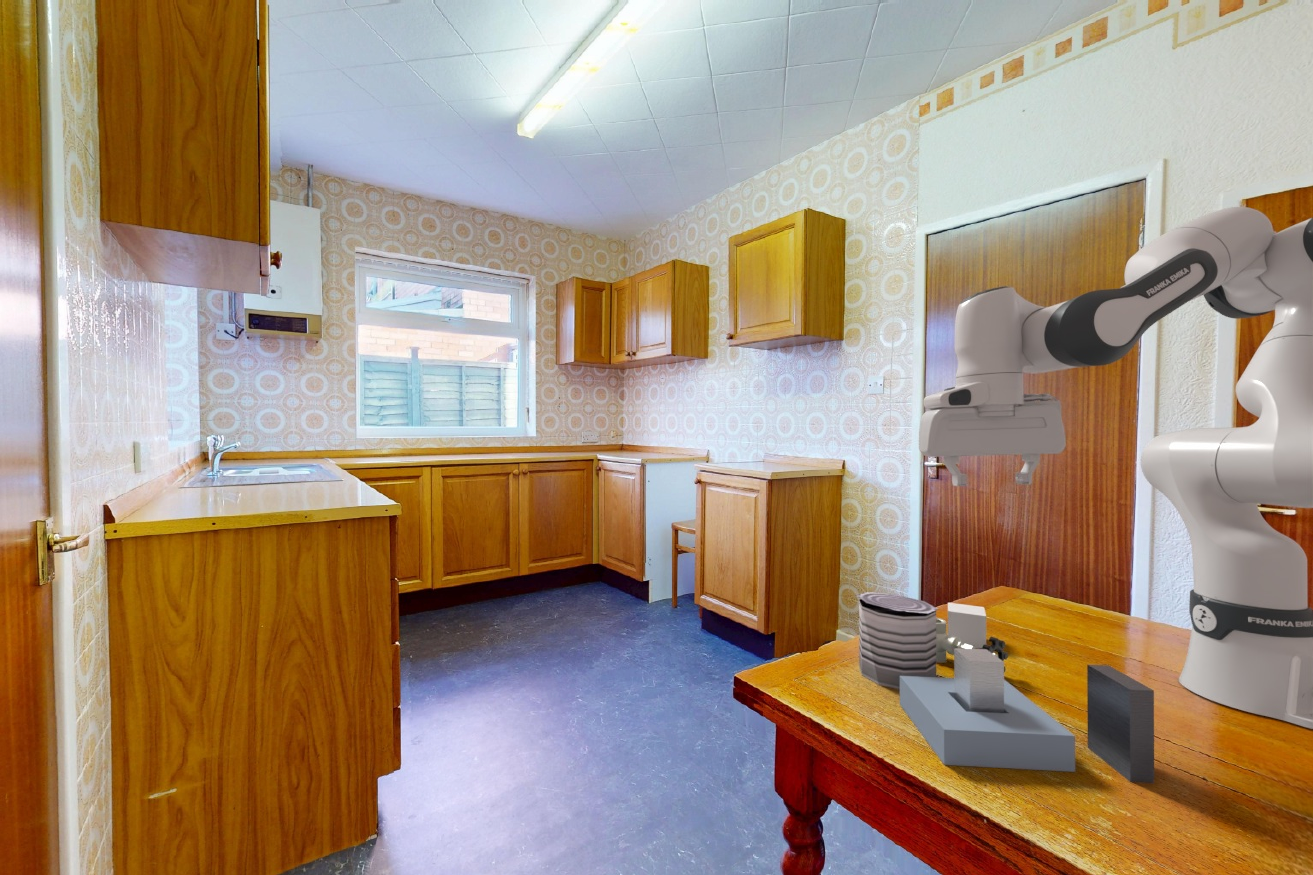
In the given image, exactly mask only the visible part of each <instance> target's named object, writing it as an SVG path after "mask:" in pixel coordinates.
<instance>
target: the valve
mask: <svg viewBox="0 0 1313 875" xmlns="http://www.w3.org/2000/svg"><path fill="white" fill-rule="evenodd" d="M988 642H990V643H991V644H990V645H989V644H987V643H986V644H984V645H983V647H982V648H979V649H987V650H988V651H990V652H991V653H992V654H994V655H995V656H996V657H998V658H999V659H1001V660H1002V661H1003V662H1005V661H1007V660H1008V657H1009V653H1008V652H1006V651H1004V648H1005V647H1006V642H1005V641H1004V640H1001V639H999V638H998V637H994V636H990V637H989V638H988ZM954 648H961V649H977V648H975V647H974V646H971V645H968V644H964V645H963V643H961V640H960V638H958V637H955V636H950V637H948V632H947V621H946V620H945V619H943V618H940V617H936V664H937V663H947V654H949V655H952V656H954ZM995 652H996V653H997V654H996V653H995ZM1005 672H1006V666H1005V665H1004V673H1005Z"/></svg>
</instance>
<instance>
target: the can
mask: <svg viewBox="0 0 1313 875" xmlns="http://www.w3.org/2000/svg"><path fill="white" fill-rule="evenodd" d="M856 596H857V598H859V600H858V603H859V604H858V639H859V641H858V643H859V644H858V654H859V655H858V659H859V660H858V661H859V662H858V664H859V665H858V667H859V670H860V674H861V676H863V678H866V679H867V680H869V681H871V682H872V683H875V684H876V685H878V686H882V687H884V688H885V687H886V688H891V689H895V690H899V691H900V676H917V677H937V663H936V618H937V610H939V608H938V607H936V606H933V605H932V604H930V603H928V602H927V601H925V600H921V599H916V598H911V597H908V596H904V595H899V594H894V593H883V592H872V591H871V592H870V591H867V592H864V593H860V594H856Z"/></svg>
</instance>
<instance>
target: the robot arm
mask: <svg viewBox="0 0 1313 875" xmlns="http://www.w3.org/2000/svg"><path fill="white" fill-rule="evenodd" d="M1124 283H1125V285H1123V286H1121V287H1119V288H1109V289H1108V288H1107V289H1099V290H1097V289H1096V290H1092V291H1089V292H1086V293H1083V294H1081V295H1078V296H1075V297H1073V298H1071V299H1068V300H1066V301H1063V302H1062V301H1061V302H1060V303H1057V304H1053V305H1051V306H1047V307H1046V306H1041V305H1038V304H1035V303H1033V302H1031V301H1029V300H1027V299H1026V298H1024V297H1022V296H1021V295H1020V294H1019V293H1018V292H1017V291H1016V289H1015V288H1014V287H1013V286H1006V285H1004V286H998V287H993V288H990V289H985V290H983V291H979V292H976V293H974V294H971V295H970V296H968V297H966V298H964V299H963V300H962V301H961V302H959V304H958V306H957V309H956V313H955V321H954V353H955V355H956V359H957V369H956V373H955V385H954V386H953V387H948V388H945V389H944V390H942V391H938V392H935V393H932V394H930V395H927V396H925V397H924V399H923V406H924V408H925V409H926V411H925V412H924V413H923V414H922V416H921V418H920V422H919V429H918V449H919V452H920V453H921V454H922V455H923V456H925V457H930V458H931V457H932V458H935V457H937V458H941V457H943V464H944V466H945V468H946V469H947V470H948V472H949V473H950V474H951V482H952V486H953V487H954V486H955V487H966V486H968V481H967V480H968V474H967V473H966V474H965V473H962V472H961V470H960V469H959V467H958V466H957V465H958V464H960V457H975V456H976V457H977V456H979V457H980V456H981V457H983V456H1008V455H1009V456H1011V455H1012V456H1014V455H1021V461H1022V462H1024V464H1023V466H1022V469H1021V470H1020V472H1014V473H1015V474H1014V475H1015V476H1014V477H1015V480H1014V481H1015V484H1016V485H1023V486H1025V485H1026V486H1027V485H1029V486H1030V485H1032V483H1033V473H1034V472H1035V470H1036V468H1037V467H1038V466H1039V464H1040V462H1041V458H1040V457H1041V456H1040V455H1048V454H1049V455H1050V454H1051V455H1053V454H1062V452H1063V451H1064V450H1065V448H1066V446H1067V445H1066V444H1067V442H1066V433H1065V426H1064V422H1063V419H1062V403H1061V401H1060V400H1059V399H1058V398H1057V397H1055V396H1052V395H1051V393H1037V394H1036V393H1024V373H1026V374H1042V373H1050V372H1057V371H1063V370H1069V369H1075V368H1084V367H1085V368H1086V367H1100V366H1106V365H1107V366H1108V365H1111V364H1113V363H1115V362H1117V361H1119V360H1121V359H1122V358H1123V357H1125V356H1126V355H1127V354H1128V353H1129V352H1131V350H1132V349H1133V348H1134V347H1135V345H1136V344H1137V342H1138V341H1139V340H1140V339H1141V338H1142V336H1143V335H1144V334H1145V333H1146V331H1147V330H1149V328H1151V327H1152V326H1154V325H1155V324H1156V323H1157V322H1159V321H1160V320H1162V319H1164V318H1165V317H1167V316H1168V315H1169V314H1171V313H1173V312H1174V311H1176V310H1178V309H1179V308H1181V307H1182V306H1184V305H1185V304H1187V303H1188V302H1191V301H1193V300H1195V299H1197V298H1199V297H1201V296H1203V297H1204V299H1205V301H1206V303H1207V304H1208V305H1209V307H1210V308H1211V309H1212V310H1213V311H1215V312H1217V313H1219V314H1220V315H1222V316H1224V317H1226V318H1230V319H1236V320H1237V319H1238V320H1239V319H1249V318H1255V317H1259V316H1264V315H1267V314H1269V313H1272V312H1273V311H1274V315H1275V316H1274V322H1273V325H1272V328H1271V330H1269V332H1268V333H1266V334H1267V335H1266V336H1265V337H1264V339H1263V340H1262V342H1261V343H1260V345H1259V346H1258V348H1257V350H1256V351H1255V353H1254V354H1253V356H1252V358H1251V360H1250V361H1249V363H1248V364H1247V366H1246V368H1245V370H1244V371H1243V373H1242V374H1241V375H1240V377H1239V380H1238V381H1237V383H1236V385H1235V395H1236V398H1237V400H1238V403H1239V404H1240V405H1241V407H1242V408H1243V409H1245V410H1246V411H1247V412H1248V413H1250V414H1251V415H1253V416H1255V417H1257V418H1258V419H1257V420H1256V421H1255V422H1254V423H1252V424H1251V425H1248V426H1242V427H1241V426H1240V427H1238V426H1237V427H1196V428H1187V429H1182V430H1176V431H1171V432H1167V433H1162V434H1159V435H1156V436H1154V437H1153V438H1151V439H1150V440H1149V441H1148V442H1147V444H1145V447H1143V450H1142V452H1141V456H1140V467H1141V472H1142V473H1143V476H1144V477H1145V479H1146V481H1147V482H1148V483H1149V484H1150V485H1151V486H1152V487H1154V488H1155V489H1156V490H1158V491H1159V492H1161V494H1163V495H1164V497H1166V498H1167V499H1168V500H1169V501H1170V502H1171V504H1172V505H1173V507H1174V508H1175V510H1176V511H1177V512H1178V514H1179V515H1180V517H1181V518H1180V519H1182V522H1184V526H1185V528H1186V530H1187V533H1188V537H1189V540H1190V545H1191V554H1192V555H1191V557H1192V570H1193V575H1192V576H1193V589H1192V590H1189V604H1188V606H1189V612H1188V613H1189V616H1190V620H1191V624H1192V625H1191V631H1190V638H1189V644H1188V649H1187V652H1186V653H1187V654H1186V657H1185V662H1184V665H1183V669H1182V671H1181V673H1180V675H1179V678H1178V682H1179V683H1180V684H1181V685H1182V686H1183V687H1184V688H1185V689H1187V690H1189V691H1190V692H1192V693H1194V694H1197V695H1199V696H1201V697H1203V698H1206V699H1208V700H1210V701H1212V702H1215V703H1218V704H1221V705H1224V706H1227V707H1230V708H1233V709H1236V710H1237V709H1238V710H1241V711H1244V712H1248V713H1252V714H1255V715H1259V716H1262V717H1264V716H1265V717H1269V718H1273V719H1277V720H1281V721H1284V722H1288V723H1291V724H1294V725H1298V726H1301V727H1304V728H1307V729H1311V730H1313V609H1312V608H1311V607H1310V606H1309V605H1308V604H1309V603H1308V558H1307V555H1306V553H1305V551H1304V549H1303V548H1302V546H1301V545H1300V544H1299V543H1297V541H1295V540H1294V539H1293V538H1290V537H1289V536H1287V535H1285V534H1283V533H1281V532H1280V531H1277V530H1276V529H1275V528H1273V526H1271V525H1270V524H1269V523H1268V522H1267V521H1266V520H1265V518H1264V517H1263V515H1262V514H1261V511H1260V508H1259V506H1258V504H1259V505H1271V506H1280V507H1289V508H1300V509H1301V508H1303V509H1313V217H1311V218H1308V219H1306V220H1304V221H1301V222H1298V223H1296V224H1294V225H1292V226H1291V225H1290V226H1289V227H1287V228H1285V229H1284V228H1283V230H1280V231H1279V232H1277V231H1275V230H1274V228H1273V224H1272V222H1271V220H1270V218H1268V216H1267V215H1266V214H1265V213H1264V212H1261V211H1260V210H1258V209H1255V208H1251V207H1249V206H1248V207H1247V206H1230V207H1227V208H1223V209H1219V210H1216V211H1213V212H1210V213H1207V214H1204V215H1201V216H1199V217H1197V218H1194V219H1192V220H1189V221H1187V222H1185V223H1183V224H1181V225H1178V226H1176V227H1174V228H1173V229H1171V230H1169V231H1167V232H1165V233H1163V234H1162V235H1160V236H1158V237H1156V238H1155V239H1153V240H1151V241H1150V242H1148V243H1147V244H1146V245H1144V246H1143V247H1142V248H1140V249H1139V250H1138V251H1137V252H1136V253H1135V254H1133V255H1132V256H1131V257H1130V258H1129V259H1128V260H1127V262H1126V264H1125V268H1124Z"/></svg>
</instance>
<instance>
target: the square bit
mask: <svg viewBox="0 0 1313 875" xmlns="http://www.w3.org/2000/svg"><path fill="white" fill-rule="evenodd" d="M953 658H954V660H953V661H954V662H953V665H954V667H953V668H954V670H953V675H954V676H953V678H954V699H955V700H956V701H957V702H958V703H959V704H960V706H961V707H962V708H963V709H964V710H965V711H966V712H988V713H1004V680H1005V672H1004V666H1005V661H1002V660H1001V659H999V658H998V657H996V656H995V655H994V654H992V653H991V652H990V651H988V650H987V649H980V648H976V649H961V648H954V655H953Z"/></svg>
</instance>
